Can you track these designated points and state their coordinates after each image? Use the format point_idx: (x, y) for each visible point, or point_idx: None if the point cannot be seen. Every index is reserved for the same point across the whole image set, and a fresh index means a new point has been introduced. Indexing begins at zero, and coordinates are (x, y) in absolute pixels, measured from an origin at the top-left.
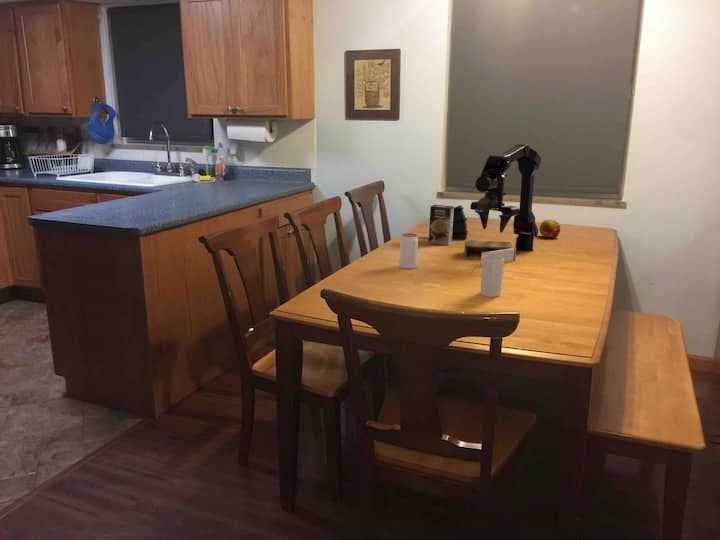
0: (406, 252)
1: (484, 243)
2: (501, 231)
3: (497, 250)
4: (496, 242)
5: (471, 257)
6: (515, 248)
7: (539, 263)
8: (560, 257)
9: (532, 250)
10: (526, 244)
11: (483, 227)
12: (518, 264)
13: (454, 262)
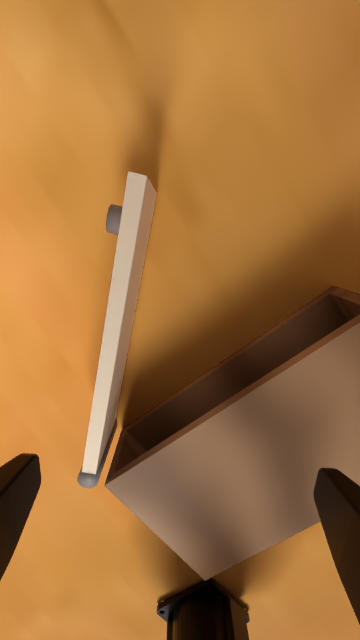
0: None
1: (305, 453)
2: (10, 470)
3: (116, 348)
4: (259, 523)
5: (301, 310)
6: (78, 478)
7: None
8: (24, 596)
9: (158, 607)
10: (182, 632)
11: (344, 482)
12: (47, 385)
13: (329, 130)
